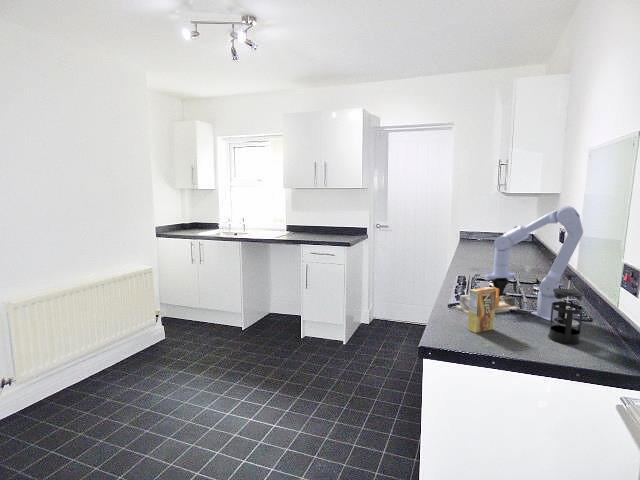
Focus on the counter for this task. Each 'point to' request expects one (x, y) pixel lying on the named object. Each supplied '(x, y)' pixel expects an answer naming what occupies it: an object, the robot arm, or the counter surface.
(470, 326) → the candy box
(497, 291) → the orange stepped block
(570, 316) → the french press
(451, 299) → the counter surface
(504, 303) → the cord rig
